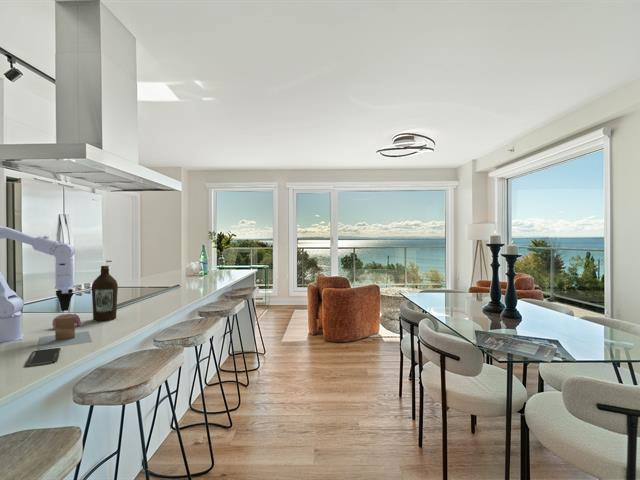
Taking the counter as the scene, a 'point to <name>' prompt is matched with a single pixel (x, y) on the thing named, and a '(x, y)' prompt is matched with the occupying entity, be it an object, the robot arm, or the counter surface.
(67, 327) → the walnut tile
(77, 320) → the video game controller
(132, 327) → the counter surface
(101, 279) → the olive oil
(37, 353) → the phone
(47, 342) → the rubber mat
